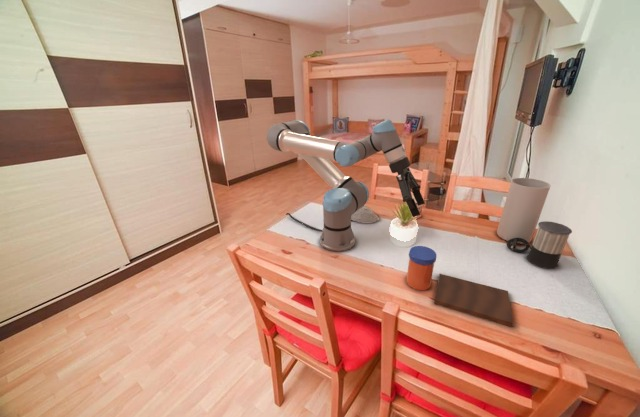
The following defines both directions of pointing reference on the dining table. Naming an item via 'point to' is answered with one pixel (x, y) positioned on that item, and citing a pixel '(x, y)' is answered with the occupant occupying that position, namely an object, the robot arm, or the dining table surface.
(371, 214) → the grey speckled mound
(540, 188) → the cylinder vase
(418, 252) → the jar lid
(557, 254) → the milk frother
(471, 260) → the dining table surface
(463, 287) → the board
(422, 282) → the jar
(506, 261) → the dining table surface
